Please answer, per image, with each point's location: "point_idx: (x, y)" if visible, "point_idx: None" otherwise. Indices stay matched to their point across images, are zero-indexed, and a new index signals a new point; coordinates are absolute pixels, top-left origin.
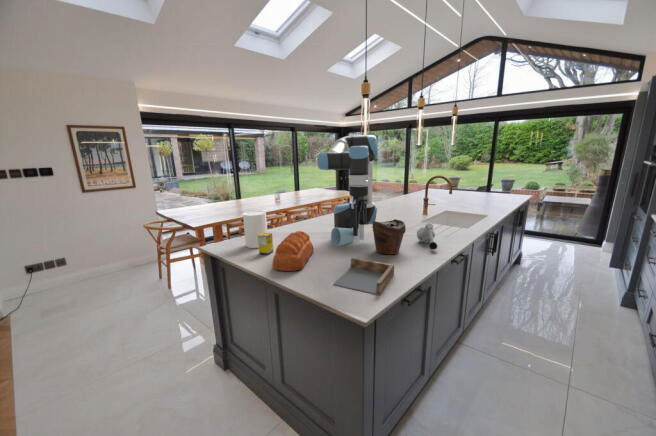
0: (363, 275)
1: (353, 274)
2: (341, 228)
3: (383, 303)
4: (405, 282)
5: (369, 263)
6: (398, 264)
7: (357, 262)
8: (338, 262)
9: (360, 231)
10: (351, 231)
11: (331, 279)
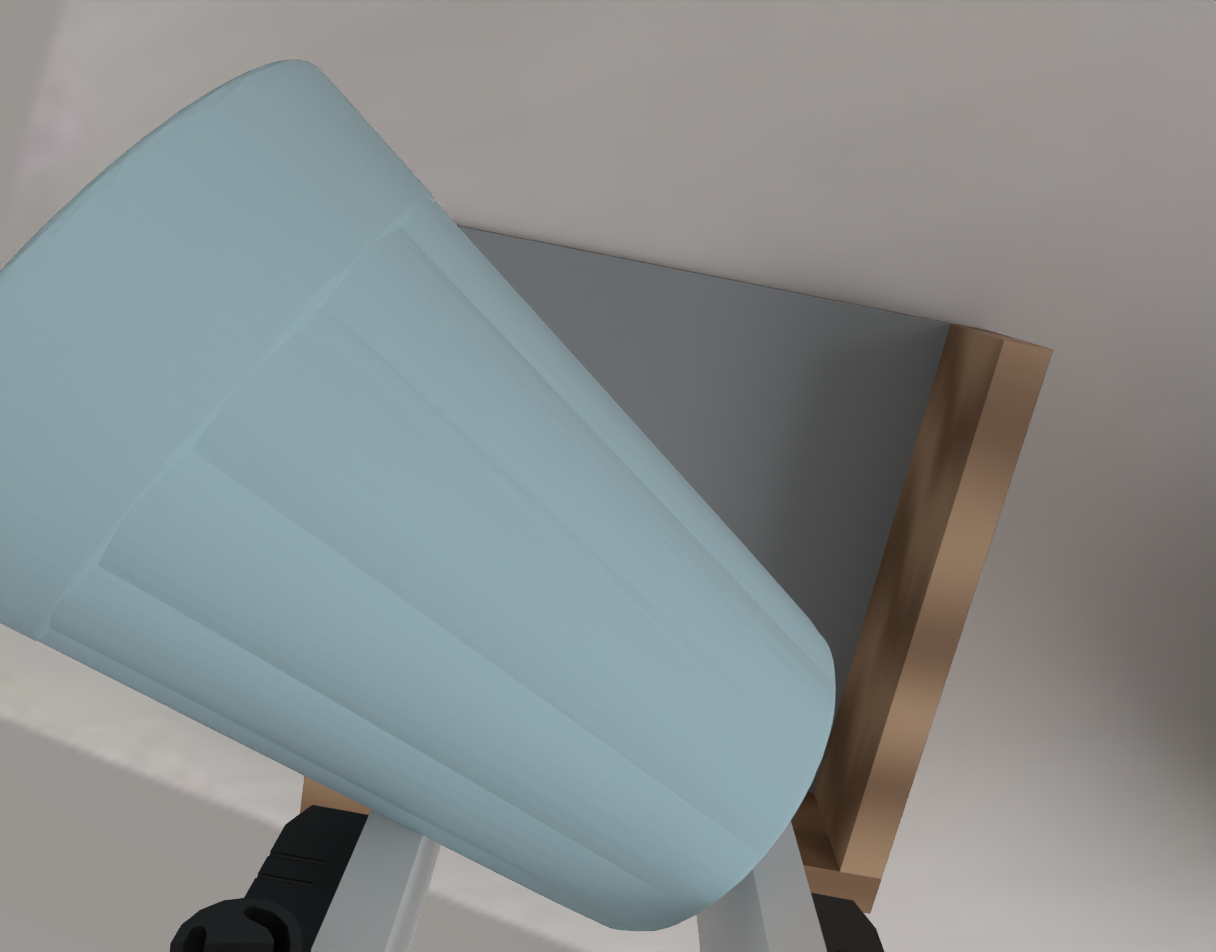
0: (733, 525)
1: (735, 404)
2: (85, 563)
3: (210, 773)
4: (682, 926)
5: (908, 614)
6: (1153, 855)
7: (953, 441)
8: (1153, 84)
9: (725, 936)
10: (373, 799)
11: (549, 152)
